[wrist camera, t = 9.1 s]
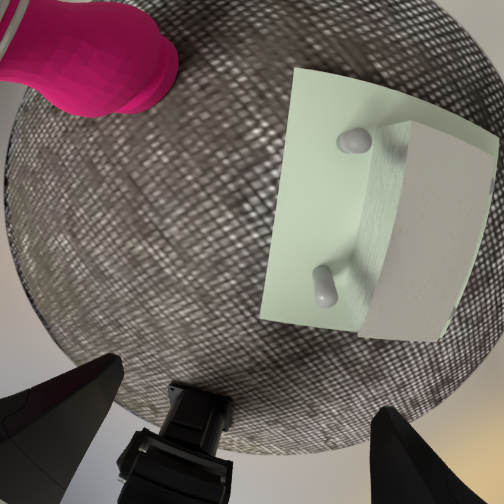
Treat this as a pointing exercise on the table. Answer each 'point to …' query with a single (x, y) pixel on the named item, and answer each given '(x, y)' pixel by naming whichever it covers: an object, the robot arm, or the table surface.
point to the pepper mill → (86, 55)
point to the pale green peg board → (337, 190)
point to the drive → (416, 232)
